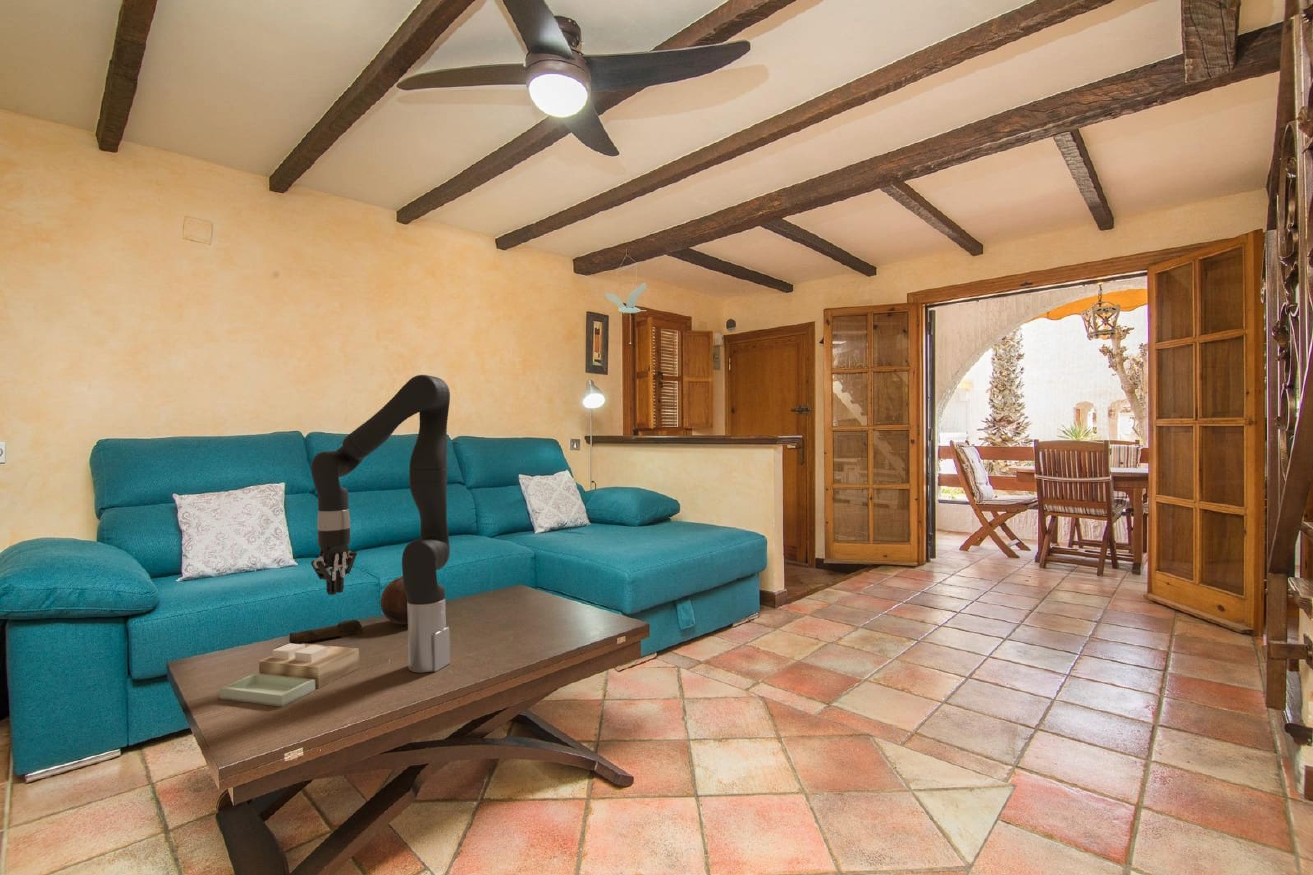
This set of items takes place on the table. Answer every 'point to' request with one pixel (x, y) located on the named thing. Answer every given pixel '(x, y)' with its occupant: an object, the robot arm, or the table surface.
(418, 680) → the table surface
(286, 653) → the tile far
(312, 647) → the tile near
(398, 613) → the wooden sphere
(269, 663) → the light wood flat block
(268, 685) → the tray
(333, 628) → the hand tool
